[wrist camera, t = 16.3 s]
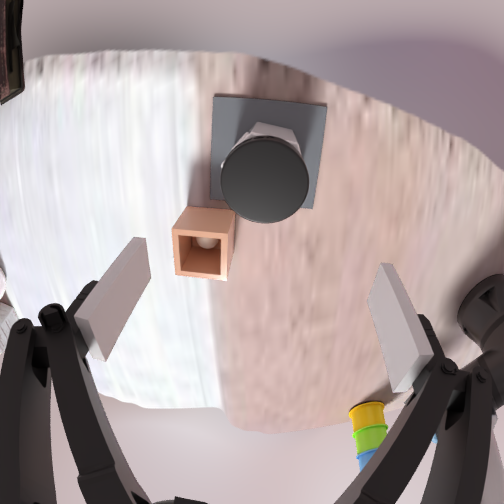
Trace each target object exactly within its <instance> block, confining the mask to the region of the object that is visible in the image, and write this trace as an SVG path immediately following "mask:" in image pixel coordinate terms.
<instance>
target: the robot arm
mask: <svg viewBox="0 0 504 504" xmlns="http://www.w3.org/2000/svg"><path fill="white" fill-rule="evenodd" d="M150 279H151V273H150V267H149V260H148V252H147V244H146V238H139V237H133V239H132V240H131V241H130V242H129V243H128V245H127V246H126V247H125V248H124V250H123V251H122V252H121V253H120V255H119V256H118V257H117V258H116V260H115V261H114V262H113V263H112V265H111V266H110V267H109V268H108V270H107V271H106V272H105V274H104V275H103V276H102V278H101V279H100V280H99V281H94V280H93V281H91V282H90V283H88V284H87V285H86V286H85V287H84V288H83V289H82V291H81V292H80V294H79V295H78V296H77V297H76V299H75V300H74V301H73V303H72V304H71V305H70V307H69V308H68V309H67V311H66V312H65V311H64V308H63V306H62V305H60V304H57V303H53V304H49V305H47V306H45V307H44V308H42V309H41V311H40V312H39V315H38V319H39V321H40V323H41V325H42V326H33V324H32V322H31V320H29V319H28V318H23V319H19V320H18V321H16V322H15V323H14V324H13V325H12V327H11V329H10V333H9V337H8V341H7V345H6V349H5V354H4V358H3V363H2V369H1V374H0V504H57V501H56V491H55V484H54V476H53V466H52V455H51V433H50V399H51V378H52V381H53V386H54V390H55V395H56V399H57V403H58V407H59V411H60V415H61V419H62V423H63V426H64V429H65V433H66V436H67V439H68V442H69V446H70V449H71V451H72V454H73V457H74V460H75V463H76V465H77V468H78V471H79V476H78V477H77V479H78V484H79V487H80V489H81V492H82V494H83V496H84V499H85V501H86V503H87V504H152V503H151V501H150V500H149V498H148V496H147V495H146V493H145V492H144V491H143V489H142V488H141V486H140V485H139V484H138V482H137V480H136V479H135V477H134V475H133V473H132V471H131V469H130V467H129V465H128V463H127V461H126V459H125V457H124V455H123V453H122V451H121V448H120V446H119V444H118V442H117V440H116V437H115V436H114V433H113V431H112V428H111V426H110V423H109V421H108V418H107V416H106V413H105V411H104V408H103V406H102V403H101V400H100V398H99V395H98V392H97V389H96V386H95V383H94V380H93V377H92V374H91V371H90V368H89V364H88V361H87V359H86V357H85V356H86V354H87V352H88V351H89V352H90V354H91V356H92V358H94V359H97V360H100V361H104V362H106V361H107V359H108V357H109V355H110V353H111V351H112V349H113V347H114V345H115V343H116V341H117V339H118V337H119V335H120V333H121V331H122V330H123V328H124V326H125V324H126V322H127V320H128V318H129V316H130V315H131V313H132V311H133V309H134V307H135V306H136V304H137V302H138V300H139V298H140V297H141V295H142V293H143V291H144V289H145V288H146V286H147V284H148V283H149V281H150ZM367 302H368V306H369V309H370V312H371V315H372V318H373V322H374V325H375V328H376V332H377V335H378V339H379V342H380V346H381V349H382V353H383V356H384V360H385V364H386V368H387V372H388V376H389V380H390V384H391V388H392V392H393V393H396V392H407V390H408V389H409V388H410V387H411V385H413V389H414V392H413V393H412V394H411V395H410V397H409V398H408V399H407V400H406V401H405V402H404V404H406V405H405V406H404V408H403V410H402V411H401V413H400V415H399V416H398V418H397V420H396V421H395V423H394V425H393V427H392V428H391V429H390V431H389V432H388V434H387V435H386V437H385V438H384V440H383V441H382V443H381V444H380V446H379V447H378V449H377V450H376V452H375V453H374V454H373V456H372V457H371V459H370V460H369V461H368V463H367V464H366V465H365V467H364V468H363V469H362V471H361V472H360V473H359V475H358V476H357V477H356V478H355V480H354V481H353V482H352V483H351V485H350V486H349V487H348V488H347V489H346V490H345V492H344V493H343V494H342V495H341V496H340V498H339V499H338V500H337V501H336V502H335V503H334V504H395V503H396V501H397V500H398V498H399V497H400V495H401V494H402V492H403V491H404V489H405V487H406V486H407V484H408V482H409V481H410V479H411V478H412V476H413V474H414V472H415V471H416V469H417V467H418V465H419V464H420V462H421V460H422V458H423V456H424V455H425V453H426V451H427V449H428V447H429V445H430V443H431V441H432V442H434V443H437V446H436V450H435V455H434V459H433V463H432V467H431V471H430V474H429V478H428V481H427V485H426V488H425V491H424V494H423V497H422V501H421V503H420V504H504V469H503V465H502V461H501V457H500V453H499V449H498V446H497V442H496V439H495V436H494V432H493V429H494V427H495V424H496V422H497V419H498V418H497V415H496V412H495V411H496V410H497V409H498V408H500V407H501V406H502V405H504V275H494V276H491V277H489V278H487V279H485V280H483V281H482V282H480V283H479V284H478V285H477V286H476V287H475V288H474V289H473V290H472V291H471V292H470V293H469V294H468V295H467V297H466V298H465V300H464V301H463V303H462V305H461V307H460V309H459V312H458V323H459V325H460V327H461V329H462V331H463V332H464V333H465V334H466V335H467V336H468V337H469V338H470V339H472V340H473V341H474V342H475V343H476V344H477V345H478V346H479V347H480V348H481V350H482V352H483V354H482V355H480V356H479V357H478V358H476V359H475V360H473V361H472V362H471V363H469V364H468V365H466V366H465V367H463V368H462V369H460V370H459V369H458V366H457V365H456V364H455V362H453V361H452V360H451V359H449V358H445V355H444V353H443V350H442V348H441V346H440V343H439V341H438V339H437V337H436V334H435V332H434V331H433V328H432V326H431V323H430V321H429V320H428V319H427V318H426V317H425V316H424V315H423V314H417V313H416V311H415V309H414V307H413V304H412V302H411V300H410V298H409V296H408V294H407V292H406V290H405V288H404V286H403V284H402V282H401V280H400V278H399V276H398V274H397V272H396V270H395V268H394V266H393V264H388V263H380V266H379V269H378V272H377V275H376V277H375V280H374V283H373V286H372V288H371V291H370V294H369V296H368V299H367ZM153 504H207V503H205V502H200V501H195V500H190V499H184V498H180V497H176V496H175V499H174V500H166V501H160V502H156V503H153Z"/></svg>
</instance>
